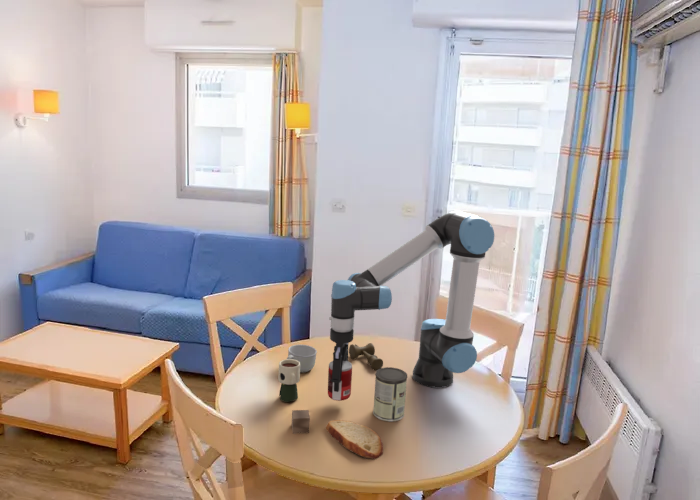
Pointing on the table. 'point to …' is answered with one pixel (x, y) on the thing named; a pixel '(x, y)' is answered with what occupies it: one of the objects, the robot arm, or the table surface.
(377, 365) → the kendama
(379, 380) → the coffee can
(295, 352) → the teacup
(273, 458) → the table surface
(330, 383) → the canned food
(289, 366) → the character mug
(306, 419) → the metal block
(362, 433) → the slice of bread
